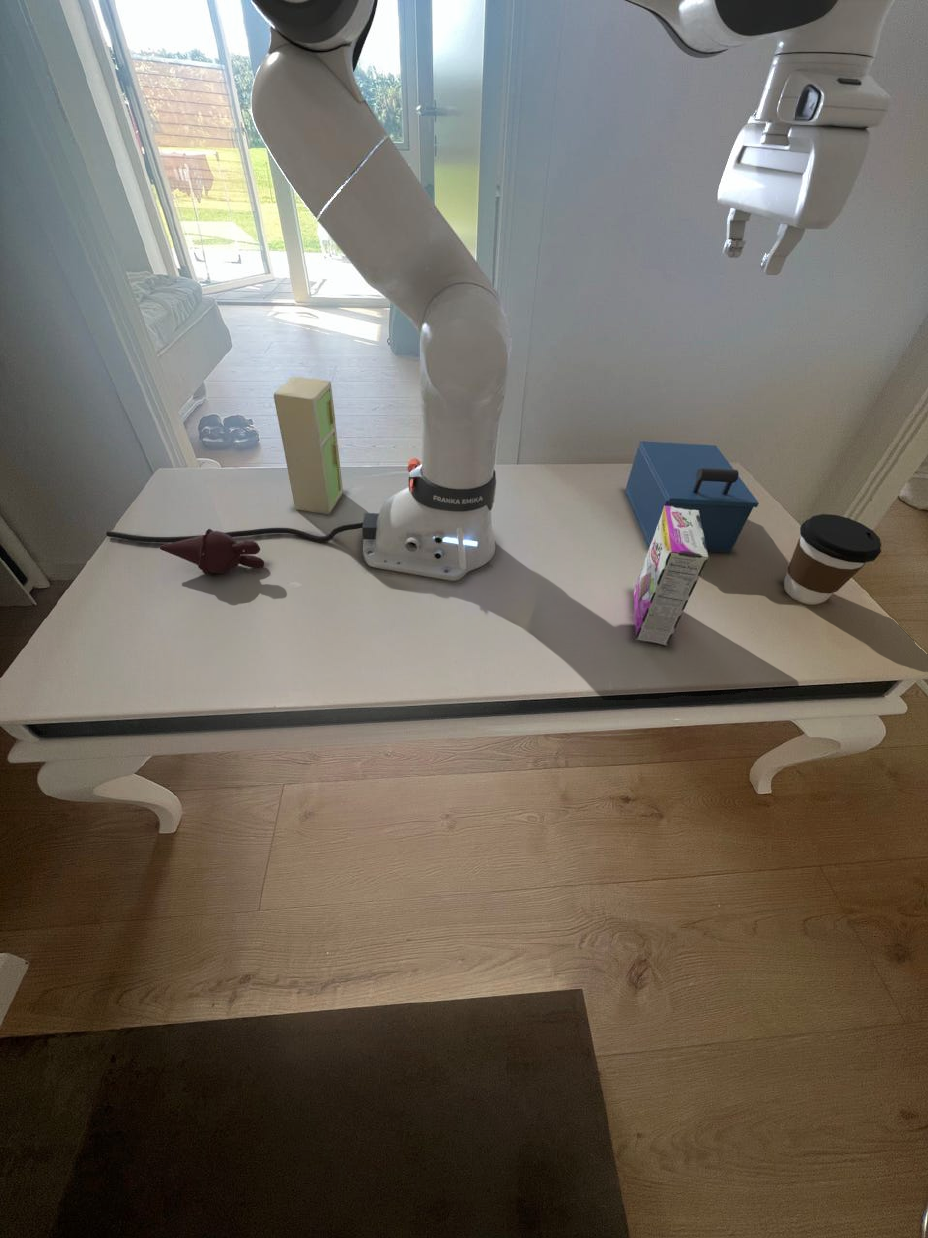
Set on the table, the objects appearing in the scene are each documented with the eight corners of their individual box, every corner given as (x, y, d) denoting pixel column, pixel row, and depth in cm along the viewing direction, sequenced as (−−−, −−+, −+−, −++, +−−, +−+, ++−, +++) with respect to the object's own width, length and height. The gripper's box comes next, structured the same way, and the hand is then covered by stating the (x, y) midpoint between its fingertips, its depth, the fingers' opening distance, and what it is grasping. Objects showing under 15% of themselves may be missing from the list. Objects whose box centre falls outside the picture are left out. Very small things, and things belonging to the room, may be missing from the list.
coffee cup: (829, 578, 89) (871, 518, 81) (848, 621, 82) (896, 560, 73) (762, 566, 91) (797, 506, 82) (775, 607, 83) (814, 546, 75)
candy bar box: (630, 592, 84) (663, 503, 72) (662, 597, 83) (700, 508, 72) (632, 641, 76) (670, 550, 64) (668, 647, 75) (711, 556, 64)
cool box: (730, 552, 93) (754, 504, 86) (648, 548, 93) (666, 500, 86) (695, 494, 107) (714, 449, 100) (624, 490, 107) (638, 445, 100)
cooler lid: (756, 507, 86) (771, 479, 82) (668, 502, 85) (678, 474, 82) (714, 449, 100) (724, 423, 97) (638, 444, 100) (646, 419, 96)
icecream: (143, 552, 74) (253, 561, 76) (159, 513, 78) (263, 523, 80) (160, 580, 80) (261, 588, 82) (174, 542, 84) (271, 551, 86)
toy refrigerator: (333, 515, 94) (317, 398, 80) (294, 510, 95) (271, 393, 80) (347, 493, 100) (335, 380, 86) (311, 488, 101) (292, 375, 86)
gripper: (730, 99, 59) (688, 246, 69) (838, 96, 45) (766, 283, 54) (782, 103, 60) (733, 248, 70) (905, 101, 45) (822, 285, 55)
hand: (748, 264), depth 62 cm, fingers open, 8 cm apart
